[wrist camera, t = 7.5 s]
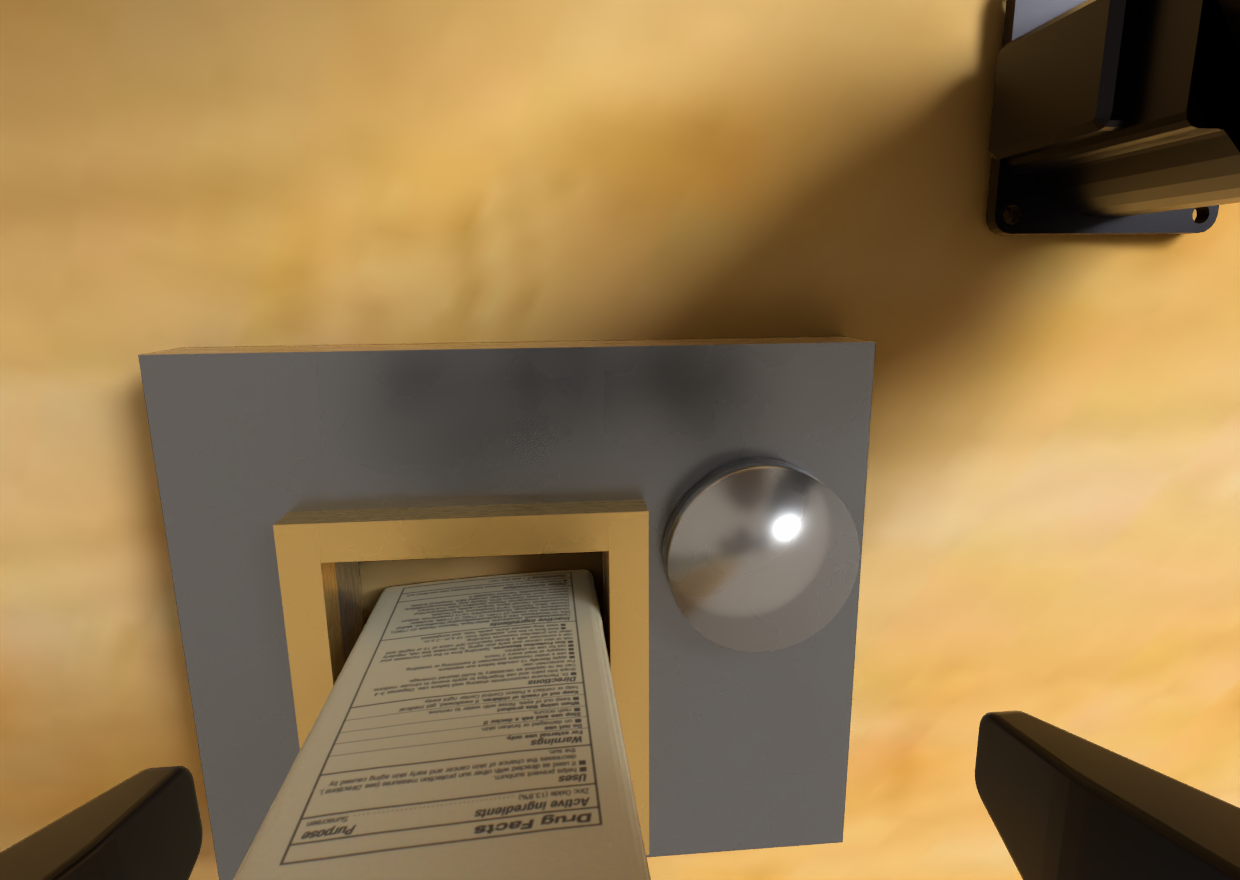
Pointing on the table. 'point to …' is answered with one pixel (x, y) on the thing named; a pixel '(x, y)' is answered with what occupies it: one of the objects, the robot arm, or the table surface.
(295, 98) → the table surface
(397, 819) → the skincare box
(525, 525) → the grey slotted board
